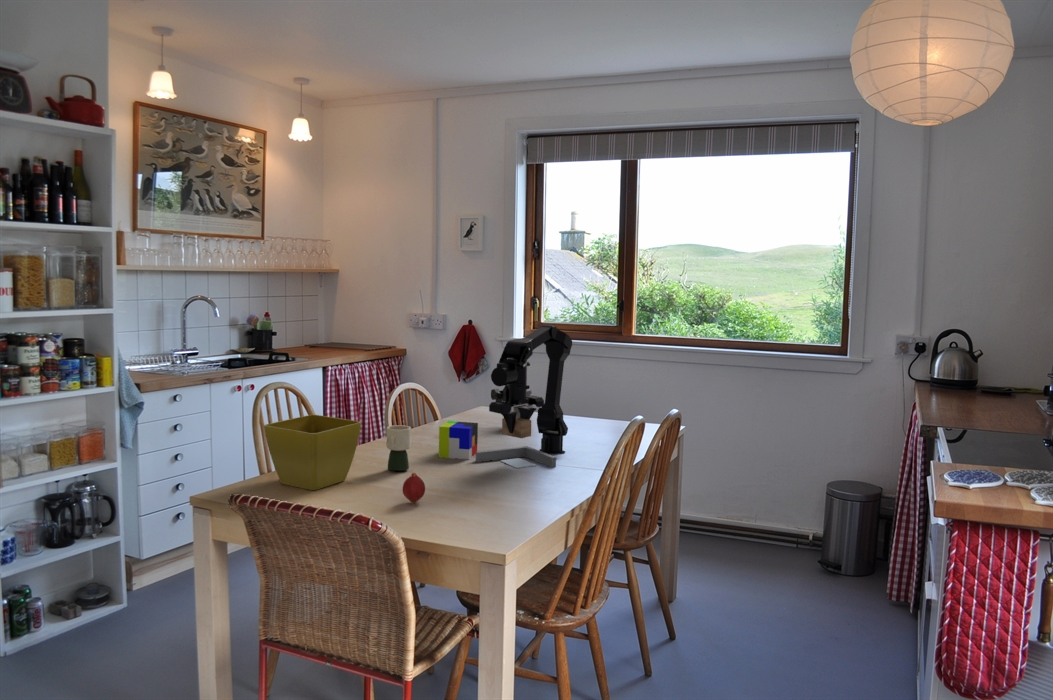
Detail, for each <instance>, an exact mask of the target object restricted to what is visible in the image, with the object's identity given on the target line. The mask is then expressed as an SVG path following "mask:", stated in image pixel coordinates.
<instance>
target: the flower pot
mask: <svg viewBox="0 0 1053 700" xmlns="http://www.w3.org/2000/svg"><path fill="white" fill-rule="evenodd" d="M361 425H362V422H361V421H357V420H352V419H346V418H339V417H334V416H327V415H319V414H308V415H303V416H297V417H293V418H290V419H289V418H287V419H284V420H280V421H275V422H272V423H266V424H264V425H263V429H264V435H265V439H266V444H267V447H268V451H269V454H270V458H271V461H272V463H273V466H274V468H275V471H276V473H277V476H278V479H279V481H280V483H281V484H282V485H286V486H291V487H296V488H301V489H304V490H305V489H306V490H309V491H317V490H321V489H323V488H326V487H329V486H333V485H335V484H338V483H341V482H344V481H345V480H346V479H347V476H348V474H349V471H350V468H351V466H352V462H353V460H354V457H355V453H356V450H357V446H358V442H359V436H360V431H361Z"/></svg>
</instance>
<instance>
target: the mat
mask: <svg viewBox="0 0 1053 700" xmlns="http://www.w3.org/2000/svg"><path fill="white" fill-rule="evenodd" d="M499 461H500V462H501V463H503V464H505V463H506V465H508V466H510V467H513V468H515V469H522V468H523V469H524V468H531V467H532V468H533V467H536V466H537V465H536V464H535V463H533V462H529V461H527V460H525V459H523V458H521V457H517V458H509V459H501V460H499Z"/></svg>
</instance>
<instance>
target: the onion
mask: <svg viewBox="0 0 1053 700" xmlns="http://www.w3.org/2000/svg"><path fill="white" fill-rule="evenodd" d="M425 493H426V484H425V482H424V481H423V479H422V478H421V477H420V476H419V475H417V473H416V472H412V473H411V475H410V476H409V477H408V478H406V480H404V482H403V485H402V495H403V496H404V497H405V498H406V499H407V500H408V501H410V503H412V504H415V503H417V502H418V501H419V500H421V499H422V498H423V497H424V495H425Z"/></svg>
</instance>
